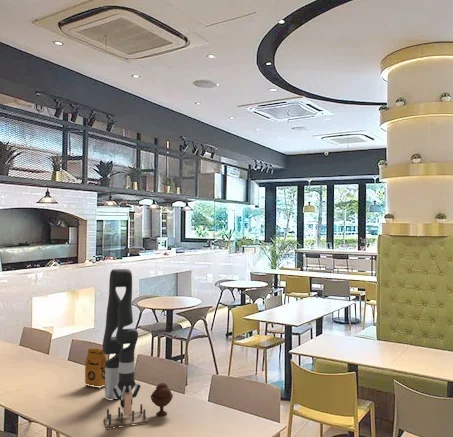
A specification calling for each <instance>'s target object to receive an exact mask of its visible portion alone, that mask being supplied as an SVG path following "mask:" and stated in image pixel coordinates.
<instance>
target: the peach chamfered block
mask: <svg viewBox="0 0 453 437" xmlns="http://www.w3.org/2000/svg"><path fill="white" fill-rule="evenodd" d="M131 406H132V405H131V393H130V392H125V393H124V408H122V407H121V410H122V413H123V414H125V416H127V415H131V413H132V408H131Z"/></svg>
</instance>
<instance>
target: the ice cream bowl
mask: <svg viewBox="0 0 453 437" xmlns="http://www.w3.org/2000/svg"><path fill="white" fill-rule="evenodd" d="M173 396H174V394H173V393H172V391H171V389H169V387H168V385H167V383H165V382H161V383H158V384H157V386H156V387H155V389H154V391H152V393H151V395H150V399H151V402H152V403H153V404H154V405H155V406H157V407H159V410H158V411H157V412H156V413H155V415H156V416H157V417H165V416H168V412H166V411H165V410H164V407H167V406H168V405H169V404H170V403H171V401H172V400H173Z"/></svg>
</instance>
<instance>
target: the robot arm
mask: <svg viewBox="0 0 453 437" xmlns="http://www.w3.org/2000/svg"><path fill="white" fill-rule="evenodd" d="M108 282H109V287H108V299H107V301H108V302H107V307H106V317H105V318H106V319H105V330H104V334H103V341H102V350H103V353H104V354H105V355H113V357H111V358H109V359H106V362H105V387H104V398H105V397H106V398H108V399H116V398H117V399H118V400H120V403H119V405H120V408H121V409H122V408H124V393H125V392H130V393H131V406H133V398H136V397H137V395H138V393H139V391H140V389H141V385H140V383H136V381H135V374H136V373H135V370H136V367H135V350H136V346H137V345H136V344H137V343H138V338H139V332H138V330H137V329H136V328H125V327H128V326H131V325H132V324H133V321H134V319H133V318H134V317H133V309H132V308H133V307H132V306H133V304H132V301H133V298H132V297H133V274H132V270H131V269H129V268H118V269H117V268H114V269H112V270H111V271H110V273H109V281H108ZM117 288H125V292H124V295H123V297H122V298H120V296H119V295H118V292H117ZM115 331H116V334H115V336H113V334H114V333H115ZM127 344H128V346H126V347H124V345H127ZM134 388H135V389H134ZM133 389H134V391H133Z"/></svg>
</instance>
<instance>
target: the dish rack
mask: <svg viewBox="0 0 453 437" xmlns="http://www.w3.org/2000/svg"><path fill="white" fill-rule="evenodd" d="M132 406H133V405H131V409H132ZM139 409H140V411H137V412H136V411H135V410H131V415H127V416H125V414H124V412H123V411H122V412H121V406H119V407H118V408H117V414H116V415H112V413H110V409H109V408H106V416H104V417H103V420H104V419H105V421H104V423H105V422H106V423H105V426H106V425H107V426H106V429H107V428H113V427H119V426H127V425H132V424H140V425H144V424H143V423H146V424H149V419H148V418H147V415H146V408H145V409H143V404H142V403H141V404H140V408H139ZM141 423H142V424H141ZM127 427H128V426H127Z"/></svg>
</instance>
